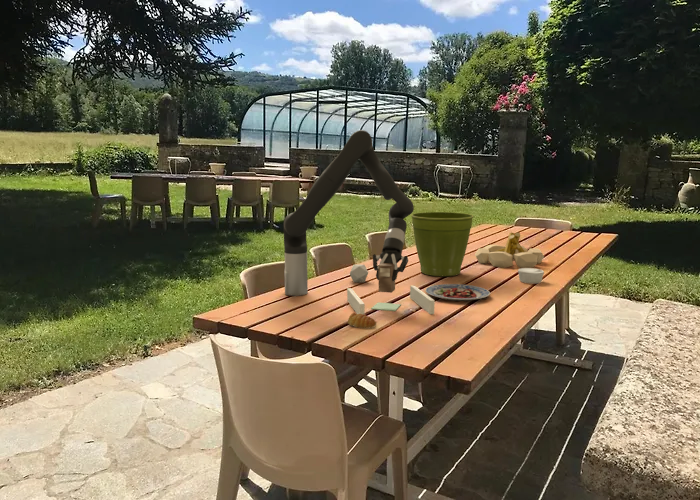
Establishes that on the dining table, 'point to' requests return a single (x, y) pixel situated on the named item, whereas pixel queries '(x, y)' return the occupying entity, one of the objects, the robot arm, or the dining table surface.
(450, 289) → the ceramic plate
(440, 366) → the dining table surface
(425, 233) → the plant pot
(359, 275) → the die
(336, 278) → the dining table surface
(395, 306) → the pad
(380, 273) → the walnut block
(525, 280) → the ramekin
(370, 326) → the pastry
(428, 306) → the arena
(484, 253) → the campfire
